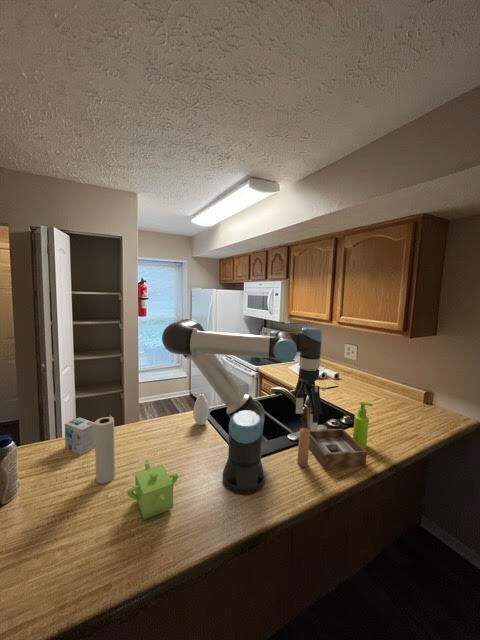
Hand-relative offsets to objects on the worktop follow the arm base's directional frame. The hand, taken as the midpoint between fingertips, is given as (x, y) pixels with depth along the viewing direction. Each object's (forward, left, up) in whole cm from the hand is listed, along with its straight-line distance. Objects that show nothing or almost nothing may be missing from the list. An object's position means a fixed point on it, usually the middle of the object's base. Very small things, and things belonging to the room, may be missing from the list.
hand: (305, 421), depth 106 cm
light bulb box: (-89, +21, -18) cm, 93 cm away
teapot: (-55, -14, -18) cm, 60 cm away
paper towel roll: (-73, +1, -18) cm, 75 cm away
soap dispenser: (+32, +10, -18) cm, 38 cm away
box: (+16, +5, -18) cm, 24 cm away
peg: (0, 0, -18) cm, 18 cm away
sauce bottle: (-39, +36, -18) cm, 56 cm away
